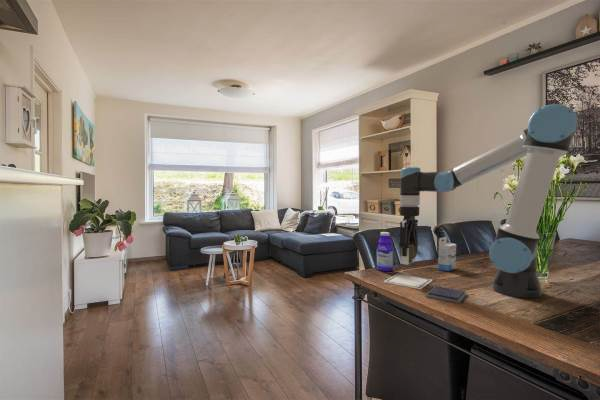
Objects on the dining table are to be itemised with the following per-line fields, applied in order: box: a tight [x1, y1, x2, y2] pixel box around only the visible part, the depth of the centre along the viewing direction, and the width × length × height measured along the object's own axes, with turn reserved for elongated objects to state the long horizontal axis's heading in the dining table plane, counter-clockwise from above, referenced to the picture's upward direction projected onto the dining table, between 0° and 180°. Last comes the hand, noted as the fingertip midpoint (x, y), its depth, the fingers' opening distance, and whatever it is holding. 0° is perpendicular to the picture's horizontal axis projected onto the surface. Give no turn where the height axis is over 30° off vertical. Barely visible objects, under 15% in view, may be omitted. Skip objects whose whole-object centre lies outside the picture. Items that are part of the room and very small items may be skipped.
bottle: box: [376, 231, 394, 272], centre depth 153 cm, size 7×6×17 cm
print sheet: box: [382, 273, 434, 290], centre depth 135 cm, size 15×15×1 cm
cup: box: [398, 243, 419, 264], centre depth 135 cm, size 8×7×8 cm
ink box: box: [437, 236, 457, 272], centre depth 155 cm, size 8×5×15 cm, turn 134°
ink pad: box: [425, 285, 468, 305], centre depth 118 cm, size 11×11×1 cm
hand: (408, 262), depth 135 cm, fingers closed on cup, 7 cm apart
